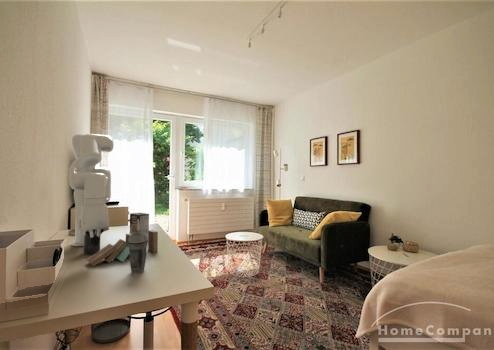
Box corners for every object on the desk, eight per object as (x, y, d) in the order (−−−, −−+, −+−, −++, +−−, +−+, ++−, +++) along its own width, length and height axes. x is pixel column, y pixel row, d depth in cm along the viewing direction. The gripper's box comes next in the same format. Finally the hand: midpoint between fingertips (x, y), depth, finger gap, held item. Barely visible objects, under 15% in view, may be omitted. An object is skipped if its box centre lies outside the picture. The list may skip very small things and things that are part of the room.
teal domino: (119, 260, 101) (111, 254, 108) (123, 262, 102) (115, 256, 109) (128, 247, 104) (120, 242, 111) (132, 249, 105) (124, 244, 112)
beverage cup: (127, 276, 87) (127, 221, 87) (127, 269, 93) (127, 218, 94) (148, 273, 90) (149, 220, 90) (147, 266, 97) (147, 217, 97)
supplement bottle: (91, 255, 111) (92, 229, 111) (79, 254, 112) (80, 228, 113) (103, 251, 118) (103, 226, 118) (91, 250, 119) (92, 226, 119)
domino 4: (148, 250, 119) (148, 230, 119) (152, 249, 120) (152, 229, 120) (153, 253, 115) (153, 232, 115) (157, 252, 116) (157, 231, 116)
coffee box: (129, 242, 135) (129, 213, 135) (139, 239, 140) (139, 212, 141) (138, 244, 130) (139, 214, 130) (149, 241, 135) (149, 213, 136)
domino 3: (124, 255, 111) (125, 233, 111) (129, 254, 112) (130, 233, 113) (129, 258, 107) (130, 235, 107) (134, 257, 108) (135, 235, 109)
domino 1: (86, 259, 100) (109, 243, 106) (89, 263, 101) (111, 247, 107) (90, 263, 96) (114, 246, 102) (93, 266, 97) (116, 249, 103)
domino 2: (101, 257, 104) (120, 238, 110) (104, 259, 105) (123, 241, 110) (105, 260, 100) (125, 241, 105) (109, 263, 101) (128, 244, 106)
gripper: (111, 200, 108) (111, 241, 107) (71, 202, 97) (70, 248, 97) (117, 201, 103) (116, 244, 102) (75, 204, 92) (74, 252, 91)
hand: (94, 246), depth 99 cm, fingers closed
